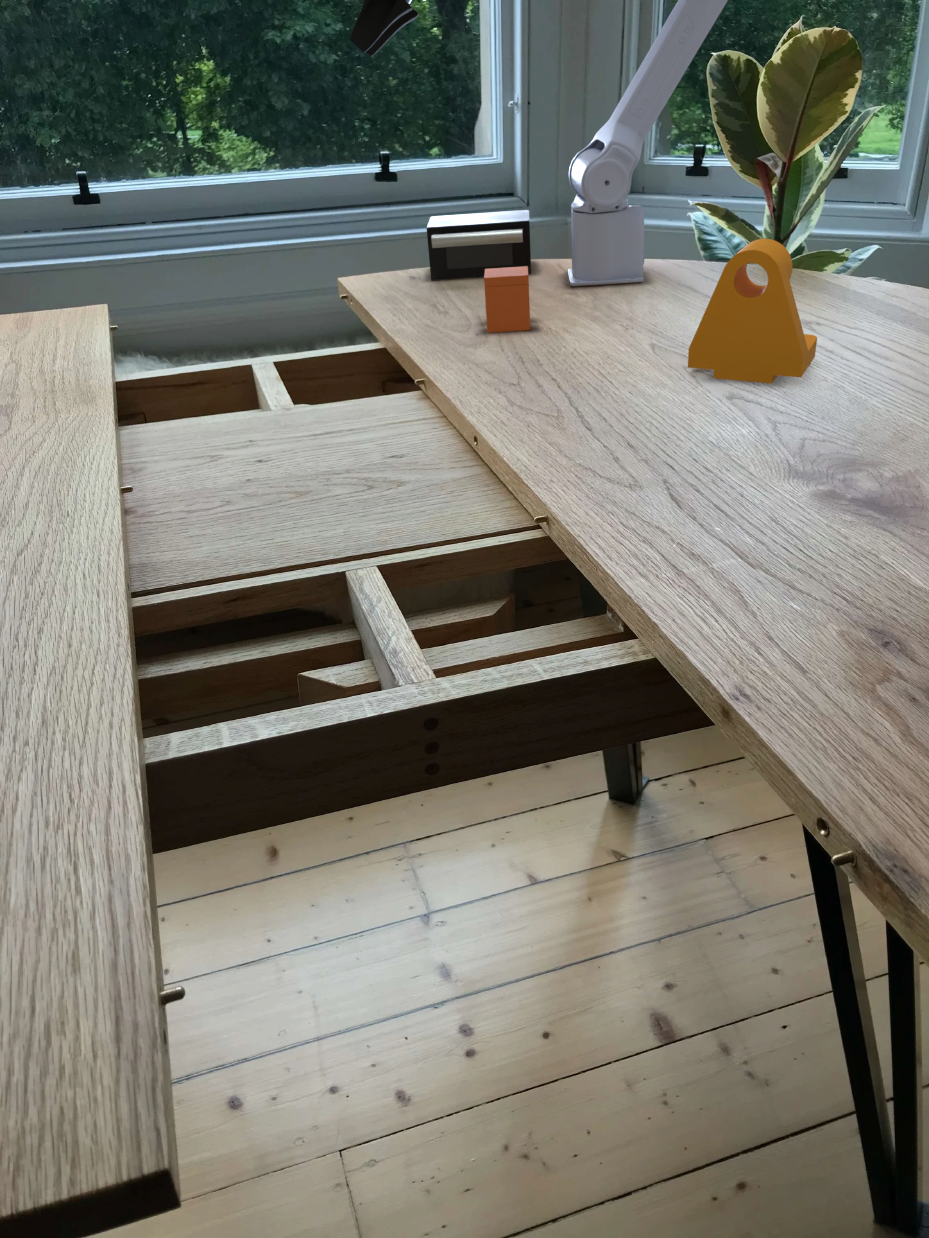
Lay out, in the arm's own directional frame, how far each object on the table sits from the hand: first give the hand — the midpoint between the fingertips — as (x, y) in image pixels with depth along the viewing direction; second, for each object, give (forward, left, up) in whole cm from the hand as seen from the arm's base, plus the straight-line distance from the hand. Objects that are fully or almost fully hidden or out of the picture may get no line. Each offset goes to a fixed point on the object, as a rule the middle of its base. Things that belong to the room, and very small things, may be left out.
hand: (360, 48), depth 114 cm
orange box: (-16, +16, -29) cm, 37 cm away
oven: (-12, -10, -29) cm, 33 cm away
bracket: (-40, +36, -29) cm, 61 cm away
